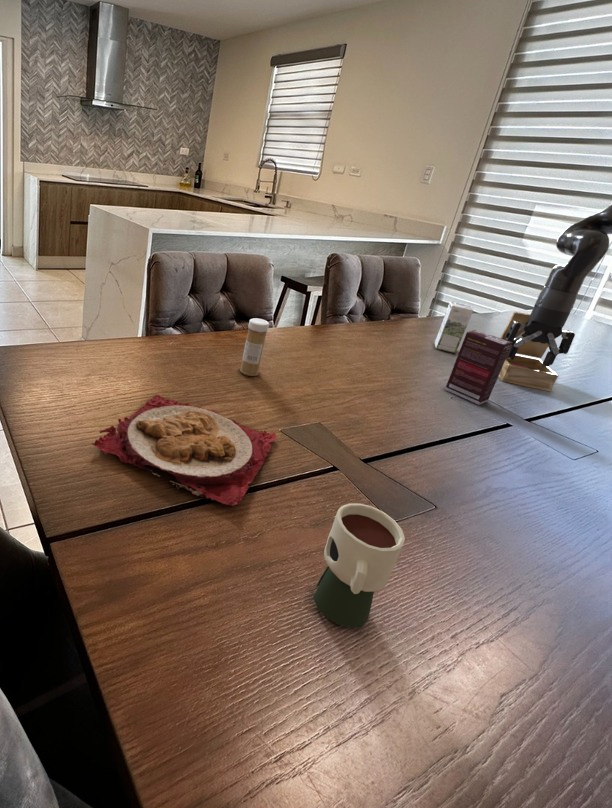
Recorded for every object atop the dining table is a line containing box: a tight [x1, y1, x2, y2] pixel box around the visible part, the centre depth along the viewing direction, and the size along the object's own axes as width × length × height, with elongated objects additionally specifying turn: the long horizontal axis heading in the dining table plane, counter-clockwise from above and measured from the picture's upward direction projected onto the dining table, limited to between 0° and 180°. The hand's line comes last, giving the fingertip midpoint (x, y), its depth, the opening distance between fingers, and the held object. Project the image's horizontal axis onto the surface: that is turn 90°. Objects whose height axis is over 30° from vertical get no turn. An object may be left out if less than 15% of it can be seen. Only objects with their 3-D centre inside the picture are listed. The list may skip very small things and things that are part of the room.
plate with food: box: [91, 394, 277, 507], centre depth 83 cm, size 24×26×4 cm
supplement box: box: [444, 329, 513, 406], centre depth 113 cm, size 9×5×16 cm, turn 34°
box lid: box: [500, 311, 549, 359], centre depth 131 cm, size 12×12×1 cm
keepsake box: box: [498, 353, 559, 392], centre depth 131 cm, size 12×12×5 cm
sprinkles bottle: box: [239, 317, 270, 377], centre depth 112 cm, size 5×5×14 cm
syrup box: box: [434, 300, 474, 354], centre depth 144 cm, size 6×6×14 cm
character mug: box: [313, 502, 406, 629], centre depth 54 cm, size 11×7×13 cm, turn 155°
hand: (527, 361), depth 129 cm, fingers open, 8 cm apart
